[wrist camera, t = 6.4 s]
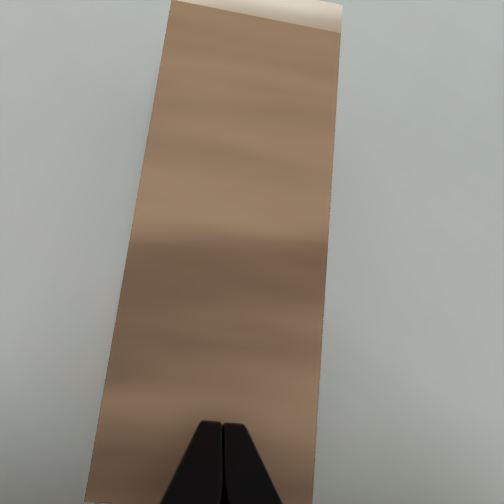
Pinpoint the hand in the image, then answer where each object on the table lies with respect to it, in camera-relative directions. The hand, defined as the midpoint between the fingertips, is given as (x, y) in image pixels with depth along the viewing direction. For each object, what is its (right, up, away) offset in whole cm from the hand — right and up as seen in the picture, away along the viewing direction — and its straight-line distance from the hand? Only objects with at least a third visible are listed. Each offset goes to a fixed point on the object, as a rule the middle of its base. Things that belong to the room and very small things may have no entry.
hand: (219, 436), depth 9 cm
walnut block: (-1, -3, +4) cm, 5 cm away
